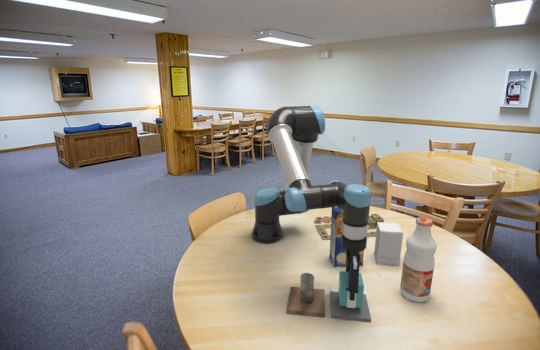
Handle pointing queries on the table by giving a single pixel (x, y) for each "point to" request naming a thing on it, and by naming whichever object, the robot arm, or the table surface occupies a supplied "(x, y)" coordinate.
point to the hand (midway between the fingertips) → (349, 298)
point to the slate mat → (349, 309)
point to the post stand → (306, 298)
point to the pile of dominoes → (321, 228)
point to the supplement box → (388, 243)
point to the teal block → (345, 284)
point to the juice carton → (338, 240)
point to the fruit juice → (418, 262)
